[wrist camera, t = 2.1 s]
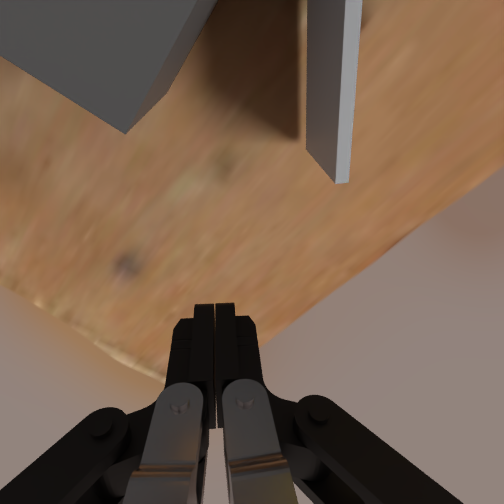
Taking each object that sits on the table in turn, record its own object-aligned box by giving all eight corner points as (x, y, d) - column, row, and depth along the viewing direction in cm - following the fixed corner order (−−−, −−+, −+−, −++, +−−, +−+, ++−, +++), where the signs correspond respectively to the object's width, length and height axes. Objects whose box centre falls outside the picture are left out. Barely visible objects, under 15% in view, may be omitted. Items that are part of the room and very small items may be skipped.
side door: (305, 149, 24) (334, 184, 18) (307, -152, 17) (358, -259, 11) (324, 147, 24) (359, 181, 18) (335, -153, 17) (400, -262, 11)
